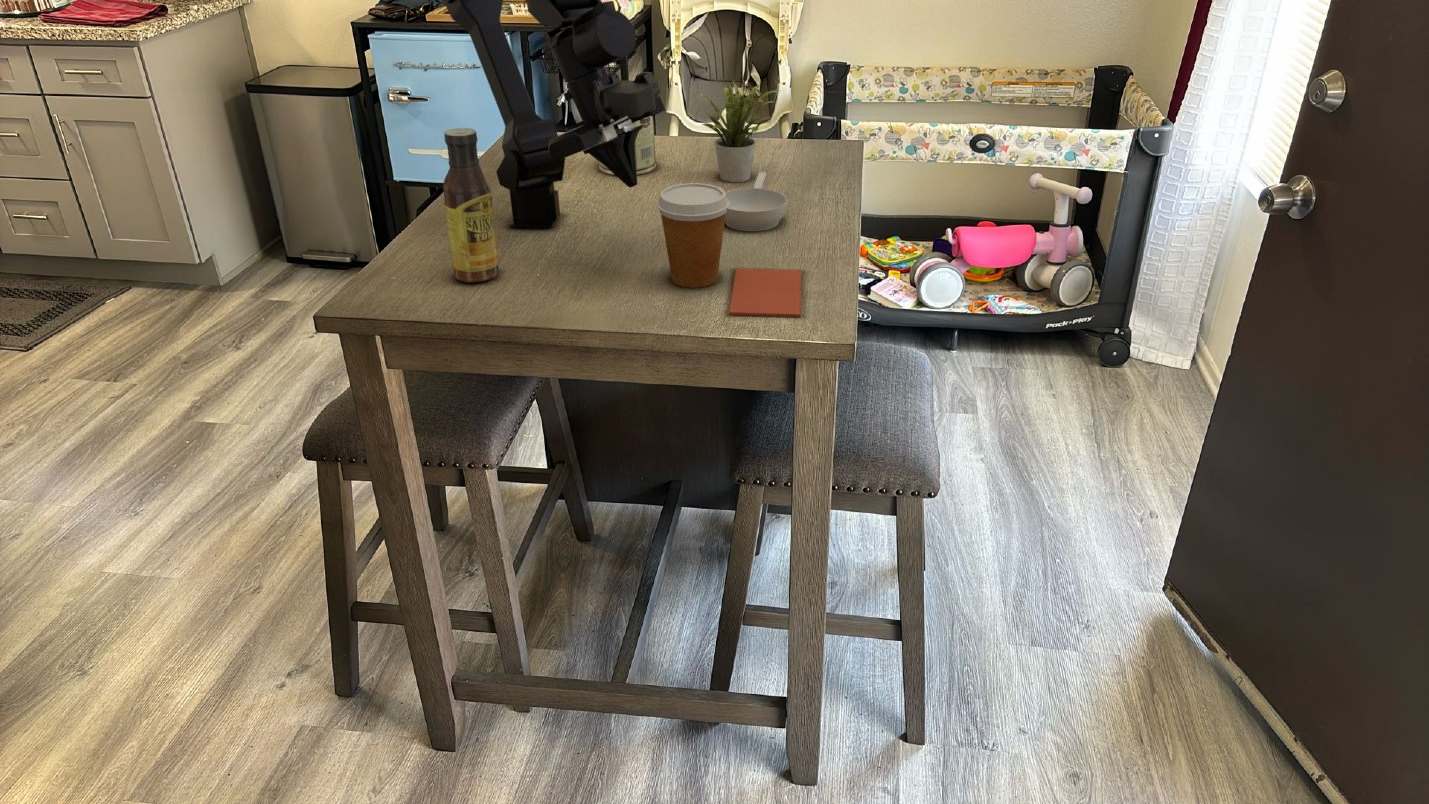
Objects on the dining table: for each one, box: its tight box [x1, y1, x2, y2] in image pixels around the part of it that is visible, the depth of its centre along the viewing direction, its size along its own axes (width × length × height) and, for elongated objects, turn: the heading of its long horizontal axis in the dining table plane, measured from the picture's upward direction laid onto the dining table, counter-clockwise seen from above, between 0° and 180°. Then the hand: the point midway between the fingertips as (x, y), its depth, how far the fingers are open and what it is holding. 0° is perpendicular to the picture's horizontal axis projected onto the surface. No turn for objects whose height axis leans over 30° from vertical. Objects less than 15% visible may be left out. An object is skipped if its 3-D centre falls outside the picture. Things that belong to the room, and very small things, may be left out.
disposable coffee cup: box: [656, 182, 729, 289], centre depth 132 cm, size 10×10×12 cm
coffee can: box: [598, 80, 657, 176], centre depth 173 cm, size 10×10×14 cm
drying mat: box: [728, 268, 802, 318], centre depth 131 cm, size 9×14×1 cm, turn 175°
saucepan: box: [724, 171, 788, 232], centre depth 156 cm, size 11×18×4 cm, turn 170°
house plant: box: [695, 80, 782, 183], centre depth 167 cm, size 14×14×16 cm
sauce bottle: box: [442, 127, 499, 284], centre depth 131 cm, size 6×6×20 cm
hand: (633, 186), depth 135 cm, fingers closed
